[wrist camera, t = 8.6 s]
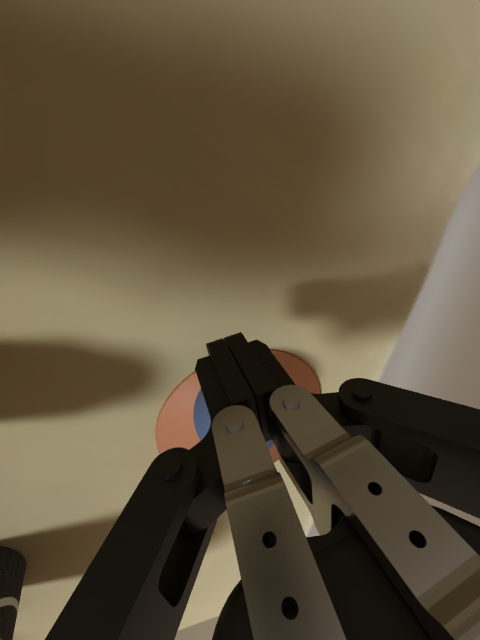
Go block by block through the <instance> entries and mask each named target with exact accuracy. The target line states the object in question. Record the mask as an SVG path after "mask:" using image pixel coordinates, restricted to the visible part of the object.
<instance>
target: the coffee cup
mask: <svg viewBox="0 0 480 640" xmlns="http://www.w3.org/2000/svg"><path fill="white" fill-rule="evenodd" d="M25 569H26V561H25V559H24V557H23V556H22V555H21V554H20V553H18V552H16V551H14V550H12V549H8V548H4V547H0V640H12V639H13V633H14V628H15V623H16V617H17V612H18V606H19V601H20V596H21V590H22V585H23V580H24V574H25Z"/></svg>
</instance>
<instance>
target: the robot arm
mask: <svg viewBox="0 0 480 640" xmlns="http://www.w3.org/2000/svg"><path fill="white" fill-rule="evenodd" d="M206 346H207V350H208V354H209V356H207V357H204V358H201V359H198V360H197V364H196V368H195V371H196V374H197V377H198V380H199V383H200V387H201V390H202V393H203V396H204V399H205V402H206V405H207V408H208V412H209V415H210V418H211V424H210V428H209V430H208V432H207V434H206V435H205V437H204V438H203V439H202V440H201V441H200V442H199V443H197V444H196V445H195V446H193V447H192V448H191V449H189V450H188V449H186V448H182V447H176V448H171V449H168V450H166V451H164V452H163V453H161V454H160V455H159V456H157V457H156V458H155V459H154V461H153V462H152V463H151V465H150V467H149V468H148V470H147V472H146V473H145V475H144V476H143V478H142V480H141V481H140V483H139V485H138V486H137V488H136V490H135V491H134V493H133V495H132V496H131V498H130V500H129V501H128V503H127V505H126V506H125V508H124V510H123V511H122V513H121V515H120V516H119V518H118V519H117V521H116V523H115V524H114V526H113V528H112V529H111V531H110V533H109V534H108V536H107V538H106V539H105V541H104V543H103V544H102V546H101V548H100V549H99V551H98V553H97V554H96V556H95V558H94V559H93V561H92V562H91V564H90V566H89V567H88V569H87V571H86V572H85V574H84V576H83V577H82V579H81V581H80V582H79V584H78V586H77V587H76V589H75V591H74V592H73V594H72V596H71V597H70V599H69V601H68V602H67V604H66V606H65V607H64V609H63V610H62V612H61V614H60V615H59V617H58V619H57V620H56V622H55V624H54V625H53V627H52V629H51V630H50V632H49V634H48V635H47V637H46V639H45V640H174V639H175V636H176V633H177V630H178V627H179V625H180V622H181V619H182V616H183V614H184V611H185V608H186V605H187V603H188V600H189V597H190V594H191V591H192V589H193V586H194V583H195V580H196V578H197V575H198V572H199V569H200V566H201V564H202V561H203V558H204V555H205V553H206V550H207V547H208V544H209V541H210V539H211V536H212V533H213V530H214V528H215V525H216V521H217V518H218V517H219V516H220V515H221V514H222V513H223V512H224V511H225V510H226V509H227V512H228V517H229V522H230V526H231V531H232V536H233V541H234V546H235V551H236V556H237V560H238V565H239V570H240V575H241V580H240V581H239V583H238V584H237V585H236V586H235V588H234V589H233V591H232V592H231V594H230V595H229V597H228V599H227V601H226V603H225V605H224V607H223V609H222V611H221V613H220V616H219V619H218V622H217V624H216V627H215V631H214V634H213V638H212V640H480V527H479V526H477V525H475V524H473V523H471V522H469V521H466V520H464V519H462V518H460V517H458V516H456V515H454V514H452V513H449V512H447V511H445V510H443V509H440V508H438V507H435V506H432V505H430V504H429V503H428V502H427V501H426V500H425V499H424V498H423V497H422V496H421V495H420V494H419V493H421V494H423V495H426V496H428V497H430V498H433V499H435V500H437V501H440V502H442V503H444V504H447V505H449V506H452V507H454V508H456V509H458V510H461V511H463V512H465V513H468V514H470V515H472V516H475V517H477V518H480V410H479V409H475V408H472V407H468V406H465V405H461V404H457V403H453V402H450V401H446V400H442V399H439V398H435V397H431V396H427V395H424V394H420V393H417V392H413V391H409V390H405V389H402V388H398V387H394V386H390V385H387V384H383V383H379V382H376V381H372V380H368V379H364V378H354V379H350V380H347V381H345V382H344V383H343V384H342V385H341V386H340V388H339V392H336V393H325V394H314V393H310V392H309V391H308V390H307V389H305V388H303V387H301V386H298V385H296V384H295V383H294V381H293V380H292V379H291V377H290V376H289V375H288V373H287V372H286V371H285V369H284V368H283V367H282V365H281V364H280V363H279V361H277V359H276V357H275V356H274V354H272V352H271V350H270V349H269V348H268V346H267V345H266V344H264V343H262V342H260V341H258V340H254V341H251V342H247V340H246V339H245V337H244V336H243V334H242V333H241V332H240V333H237V334H234V335H231V336H228V337H225V338H224V339H223V338H222V339H219V340H216V341H213V342H210V343H207V344H206ZM270 440H273V442H274V444H275V446H276V448H277V454H278V458H279V460H280V462H281V464H282V466H283V467H284V469H285V471H286V472H287V474H288V476H289V477H290V479H291V481H292V482H293V484H294V486H295V487H296V489H297V491H298V492H299V494H300V496H301V497H302V499H303V500H304V502H305V504H306V505H307V507H308V509H309V511H310V513H311V515H312V518H313V520H314V523H315V526H316V528H317V530H318V533H319V534H320V536H313V537H307V538H306V536H305V533H304V531H303V528H302V526H301V523H300V521H299V518H298V516H297V513H296V511H295V508H294V506H293V503H292V501H291V498H290V496H289V493H288V490H287V488H286V485H285V483H284V481H283V478H282V476H281V474H280V473H279V472H277V470H276V468H275V465H274V463H273V460H272V457H271V455H270V452H269V450H268V447H267V445H266V442H267V441H270ZM418 492H419V493H418Z"/></svg>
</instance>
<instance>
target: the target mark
mask: <svg viewBox="0 0 480 640" xmlns="http://www.w3.org/2000/svg"><path fill="white" fill-rule="evenodd" d="M271 352H272V354H274V356H275V357H276V359H277V361H279V363H280V364H281V365H282V367H283V368H284V369H285V371H286V372H287V373H288V375H289V376H290V377H291V379H292V380H293V381H294V383H295V384H296V385H298V386H301V387H303V388H305V389H307V390H308V391H309V392H310V393H314V394H320V386H319V383H318V380H317V378H316V376H315V374H314V373H313V371H312V370H311V369H310V368H309V367H308V365H307V364H305V363H304V362H303V361H302V360H300V359H299V358H297V357H295V356H293V355H291V354H288V353H285V352H281V351H276V350H271ZM200 389H201V387H200V383H199V380H198V377H197V374H196V371H195V372H193V373H192V374H191V375H189V376H188V377H187V378H186V379H185V380H183V381H182V382H181V383H180V384H179V385H178V386H177V387H176V389H175V390H174V391H173V392H172V393H171V395H170V396H169V397H168V399H167V400H166V402H165V404H164V405H163V407H162V409H161V411H160V414H159V417H158V420H157V425H156V442H157V448H158V450H159V453H160V454H161V453H163V452H164V451H166V450H168V449H171V448H176V447H182V448H186V449H188V450H189V449H191V448H192V447H193V446H195V445H196V444H197V443H199V442H200V441H201V440H200V439H199V437H198V435H197V432H196V430H195V425H194V419H193V411H194V404H195V400H196V397H197V395H198V393H199V391H200ZM269 452H270V455H271V457H272V460H273V463H274V462H276V461H277V460H279V458H278V454H277V448H276V446H275V444H274V445H273V446H272V447H271V448H270V449H269Z"/></svg>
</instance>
